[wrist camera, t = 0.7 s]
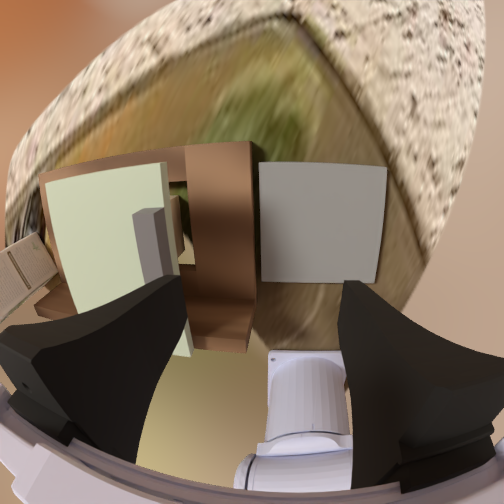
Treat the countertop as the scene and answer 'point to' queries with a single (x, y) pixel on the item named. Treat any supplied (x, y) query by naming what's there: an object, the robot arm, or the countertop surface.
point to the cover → (115, 234)
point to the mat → (320, 221)
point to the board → (194, 238)
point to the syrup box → (23, 272)
